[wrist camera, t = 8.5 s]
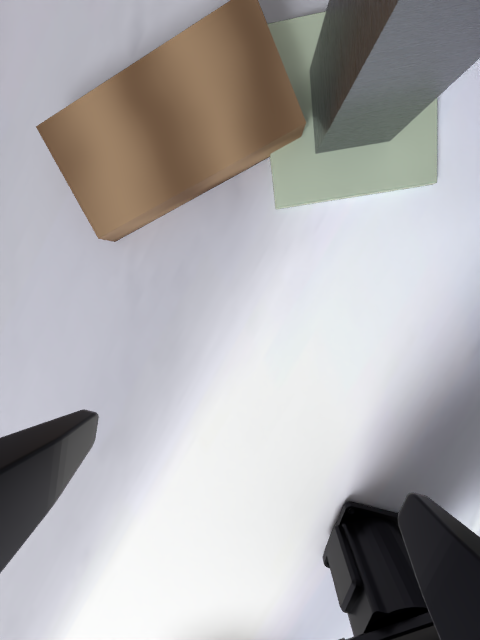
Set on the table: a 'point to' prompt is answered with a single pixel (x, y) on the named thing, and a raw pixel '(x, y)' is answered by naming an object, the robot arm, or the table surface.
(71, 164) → the brown wooden flat block
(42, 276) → the table surface
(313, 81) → the grey knobbed post
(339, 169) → the felt pad
